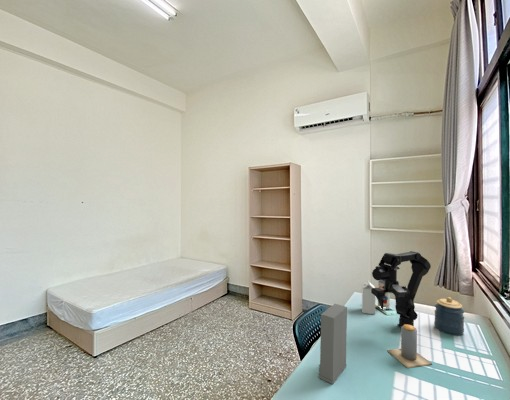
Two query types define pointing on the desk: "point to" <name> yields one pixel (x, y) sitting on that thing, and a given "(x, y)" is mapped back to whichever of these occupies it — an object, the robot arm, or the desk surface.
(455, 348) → the desk surface
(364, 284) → the milk carton
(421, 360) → the mat
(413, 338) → the canister
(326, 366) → the tall grey pillar
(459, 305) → the canister
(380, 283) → the aerosol can
